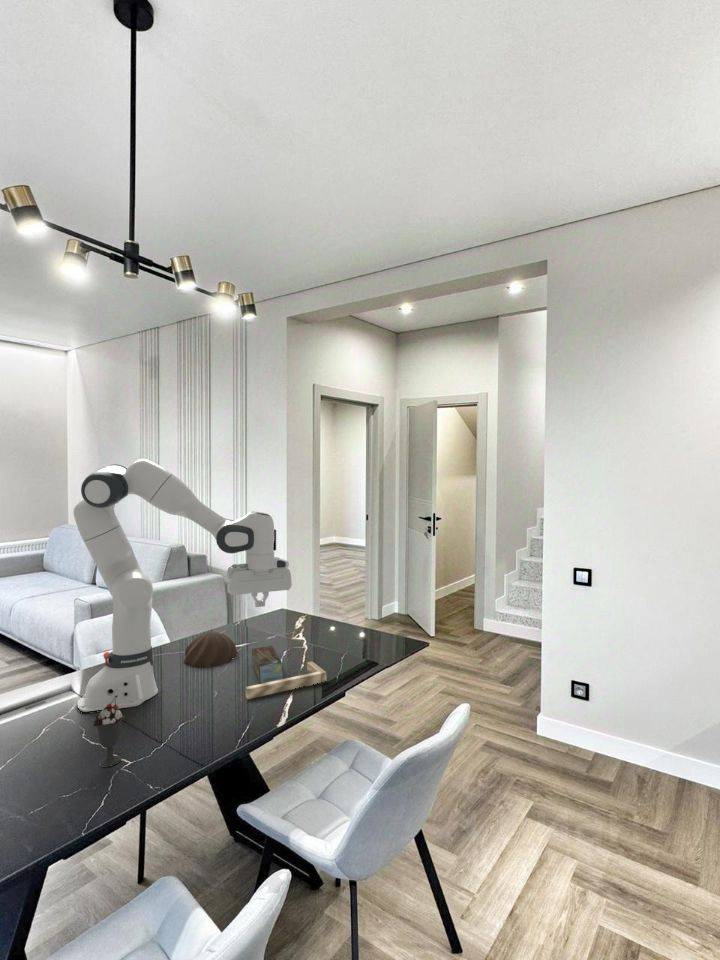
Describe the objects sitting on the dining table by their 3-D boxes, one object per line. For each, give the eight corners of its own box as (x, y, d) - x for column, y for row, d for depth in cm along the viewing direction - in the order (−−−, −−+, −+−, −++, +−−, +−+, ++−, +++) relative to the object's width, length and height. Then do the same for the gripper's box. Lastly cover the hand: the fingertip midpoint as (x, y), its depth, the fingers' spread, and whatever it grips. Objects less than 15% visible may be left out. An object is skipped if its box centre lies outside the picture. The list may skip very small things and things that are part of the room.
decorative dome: (225, 668, 185) (224, 640, 185) (173, 666, 188) (172, 638, 188) (246, 650, 204) (245, 624, 204) (198, 649, 207) (198, 624, 207)
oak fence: (247, 699, 157) (247, 689, 157) (237, 685, 168) (237, 676, 168) (326, 681, 169) (326, 672, 169) (312, 670, 180) (312, 661, 180)
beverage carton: (259, 684, 169) (258, 664, 169) (251, 665, 187) (250, 647, 187) (283, 680, 171) (283, 660, 172) (273, 662, 190) (273, 644, 190)
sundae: (130, 753, 127) (128, 692, 127) (118, 769, 120) (116, 703, 120) (102, 755, 127) (101, 693, 127) (89, 770, 120) (87, 705, 120)
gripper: (230, 566, 158) (229, 611, 158) (293, 561, 168) (293, 605, 168) (224, 563, 164) (224, 607, 164) (286, 559, 174) (286, 601, 173)
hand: (259, 606), depth 166 cm, fingers closed
